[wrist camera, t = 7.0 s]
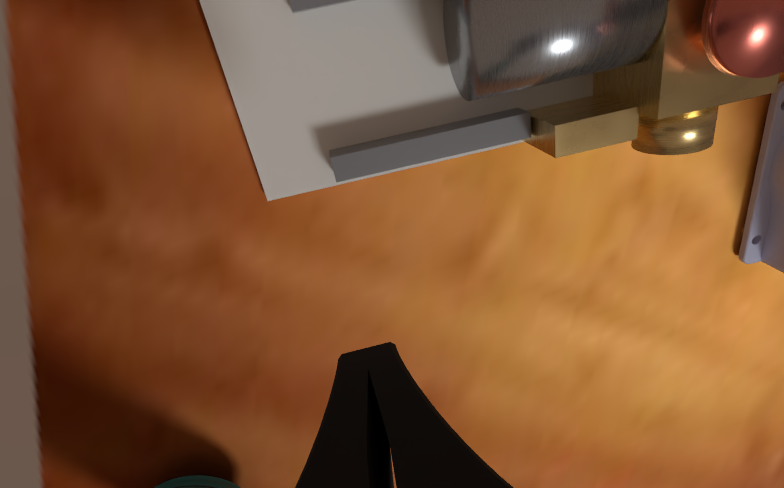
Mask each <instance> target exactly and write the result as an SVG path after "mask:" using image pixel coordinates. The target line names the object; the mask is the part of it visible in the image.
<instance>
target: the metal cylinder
mask: <svg viewBox="0 0 784 488" xmlns="http://www.w3.org/2000/svg"><path fill="white" fill-rule="evenodd" d="M667 2H668V0H444V1H443V25H444V37H445V45H446V51H447V57H448V62H449V66H450V70H451V73H452V77H453V80H454V82H455V85H456V87H457V89H458V91H459V93H460V95H461V96H462V97H463V98H464V99H465V100H466V101H472V100H477V99H481V98H486V97H490V96H495V95H499V94H504V93H508V92H512V91H517V90H521V89H526V88H530V87H535V86H539V85H543V84H548V83H552V82H557V81H561V80H566V79H570V78H575V77H579V76H583V75H588V74H592V73H597V72H601V71H606V70H610V69H614V68H619V67H623V66H628V65H632V64H635V63H637V62H639V61H640V60H641V59H643V58H644V57H645V56H646V55H647V54H648V53H649V51H650V50H651V49H652V47H653V46H654V44H655V43H656V41H657V39H658V37H659V34H660V32H661V29H662V27H663V23H664V20H665V15H666V10H667Z"/></svg>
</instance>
